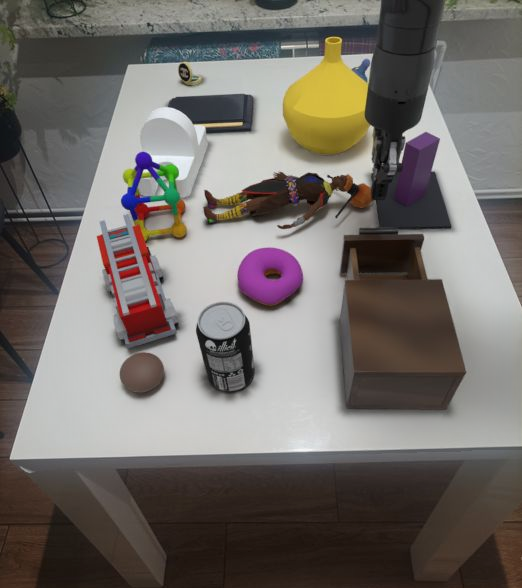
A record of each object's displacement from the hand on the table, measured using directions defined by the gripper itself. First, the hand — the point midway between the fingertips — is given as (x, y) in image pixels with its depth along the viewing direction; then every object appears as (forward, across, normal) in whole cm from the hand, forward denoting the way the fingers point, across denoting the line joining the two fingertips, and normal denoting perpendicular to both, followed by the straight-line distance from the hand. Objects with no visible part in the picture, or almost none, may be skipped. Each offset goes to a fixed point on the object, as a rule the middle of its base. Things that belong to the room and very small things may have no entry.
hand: (377, 197), depth 74 cm
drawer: (+8, +13, 0) cm, 15 cm away
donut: (+9, +10, -17) cm, 22 cm away
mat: (+8, -10, +8) cm, 16 cm away
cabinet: (+8, +26, 0) cm, 27 cm away
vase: (+9, -30, -6) cm, 32 cm away
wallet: (+9, -42, -32) cm, 54 cm away
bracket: (+9, -22, -37) cm, 44 cm away
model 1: (+9, -4, -37) cm, 38 cm away
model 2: (+9, -46, -2) cm, 47 cm away
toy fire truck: (+9, +14, -37) cm, 41 cm away
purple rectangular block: (+8, -11, +8) cm, 16 cm away
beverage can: (+9, +28, -22) cm, 36 cm away
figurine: (+9, -8, -14) cm, 18 cm away
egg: (+9, +29, -34) cm, 45 cm away
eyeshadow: (+9, -59, -38) cm, 71 cm away
